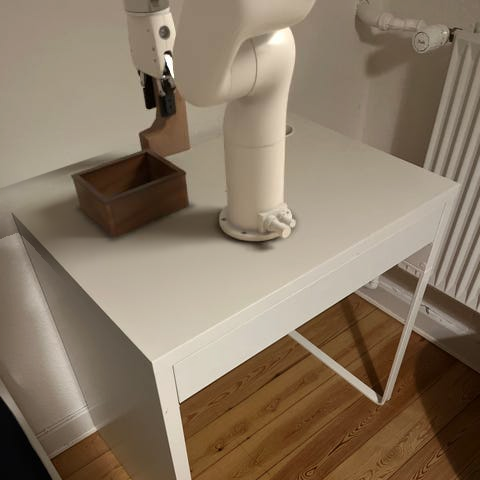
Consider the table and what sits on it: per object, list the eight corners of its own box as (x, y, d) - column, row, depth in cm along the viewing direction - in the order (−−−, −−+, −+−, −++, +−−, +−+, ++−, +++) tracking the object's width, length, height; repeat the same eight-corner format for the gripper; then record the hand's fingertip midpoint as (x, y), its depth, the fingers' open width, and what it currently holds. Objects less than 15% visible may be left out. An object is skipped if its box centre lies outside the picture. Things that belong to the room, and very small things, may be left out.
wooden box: (189, 206, 93) (186, 171, 88) (113, 238, 86) (104, 202, 81) (153, 181, 100) (148, 148, 96) (80, 208, 93) (70, 174, 89)
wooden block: (151, 162, 99) (135, 63, 87) (141, 154, 102) (124, 57, 90) (191, 150, 103) (181, 53, 90) (180, 142, 105) (169, 48, 93)
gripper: (193, 5, 81) (202, 119, 93) (139, -10, 91) (154, 95, 103) (153, 13, 78) (168, 130, 90) (102, -3, 88) (122, 104, 100)
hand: (161, 110), depth 97 cm, fingers closed on wooden block, 4 cm apart
